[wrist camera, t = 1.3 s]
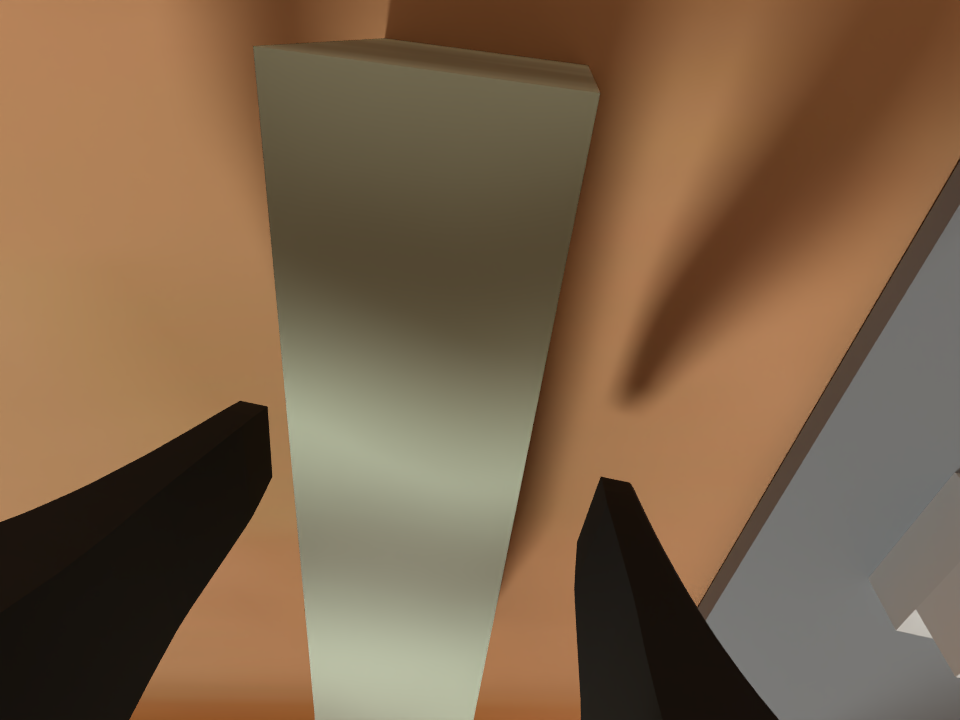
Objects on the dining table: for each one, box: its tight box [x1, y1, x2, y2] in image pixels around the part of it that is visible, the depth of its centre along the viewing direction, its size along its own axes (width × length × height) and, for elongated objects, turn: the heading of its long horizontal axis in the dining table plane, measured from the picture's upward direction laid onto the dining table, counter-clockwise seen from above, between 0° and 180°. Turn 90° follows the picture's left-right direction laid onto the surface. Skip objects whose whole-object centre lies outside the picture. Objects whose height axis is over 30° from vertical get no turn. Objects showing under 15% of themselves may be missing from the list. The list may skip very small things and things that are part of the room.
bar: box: [253, 38, 600, 720], centre depth 12 cm, size 16×4×5 cm, turn 174°
